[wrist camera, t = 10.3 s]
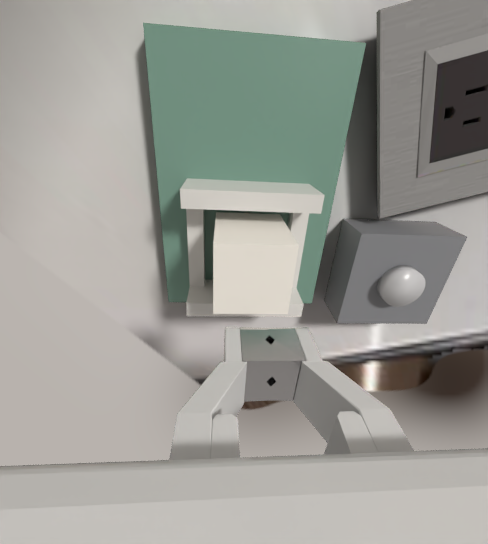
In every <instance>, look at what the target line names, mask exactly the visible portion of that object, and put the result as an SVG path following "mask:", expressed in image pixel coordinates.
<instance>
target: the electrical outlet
mask: <svg viewBox="0 0 488 544" xmlns="http://www.w3.org/2000/svg"><path fill="white" fill-rule="evenodd" d="M485 192H488V0H412V1H408V2H405V3H401V4H398V5H395V6H391V7H388V8H384V9H381V10H379V11H378V12H377V217H378V218H384V217H388V216H392V215H396V214H400V213H405V212H409V211H413V210H417V209H421V208H425V207H429V206H433V205H437V204H441V203H445V202H449V201H453V200H457V199H461V198H465V197H469V196H473V195H477V194H481V193H485Z"/></svg>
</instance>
